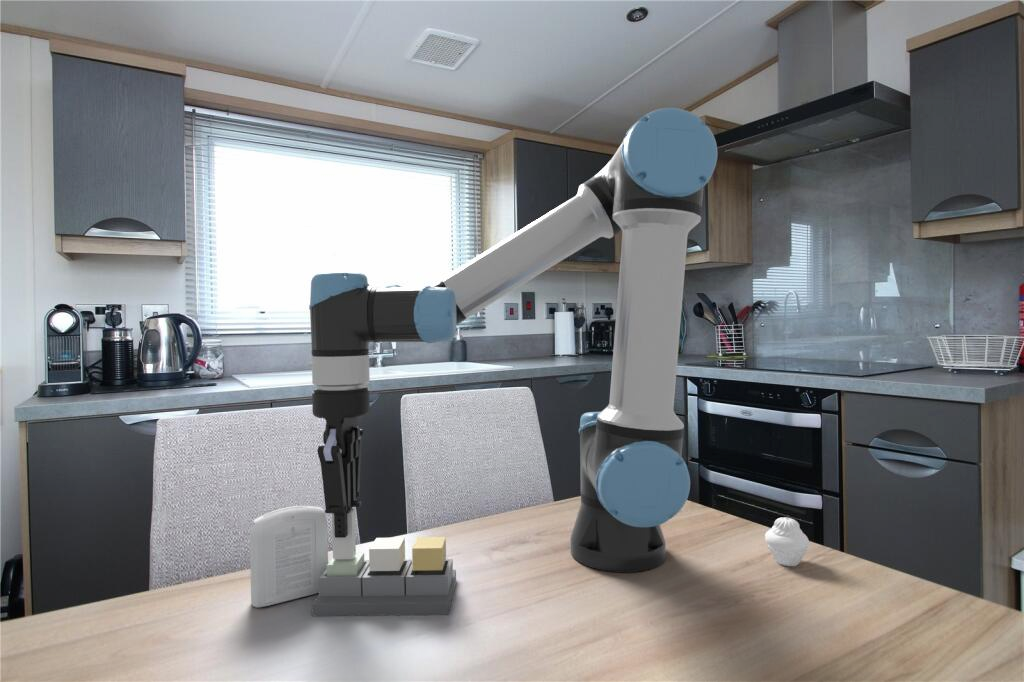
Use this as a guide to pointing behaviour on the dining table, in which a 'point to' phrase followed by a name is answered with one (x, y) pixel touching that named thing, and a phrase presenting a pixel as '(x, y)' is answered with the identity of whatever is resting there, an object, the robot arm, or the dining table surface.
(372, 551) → the key ivory
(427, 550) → the key ochre
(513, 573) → the dining table surface
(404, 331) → the robot arm
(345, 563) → the key sage
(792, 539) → the muffin
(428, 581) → the keypad
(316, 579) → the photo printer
